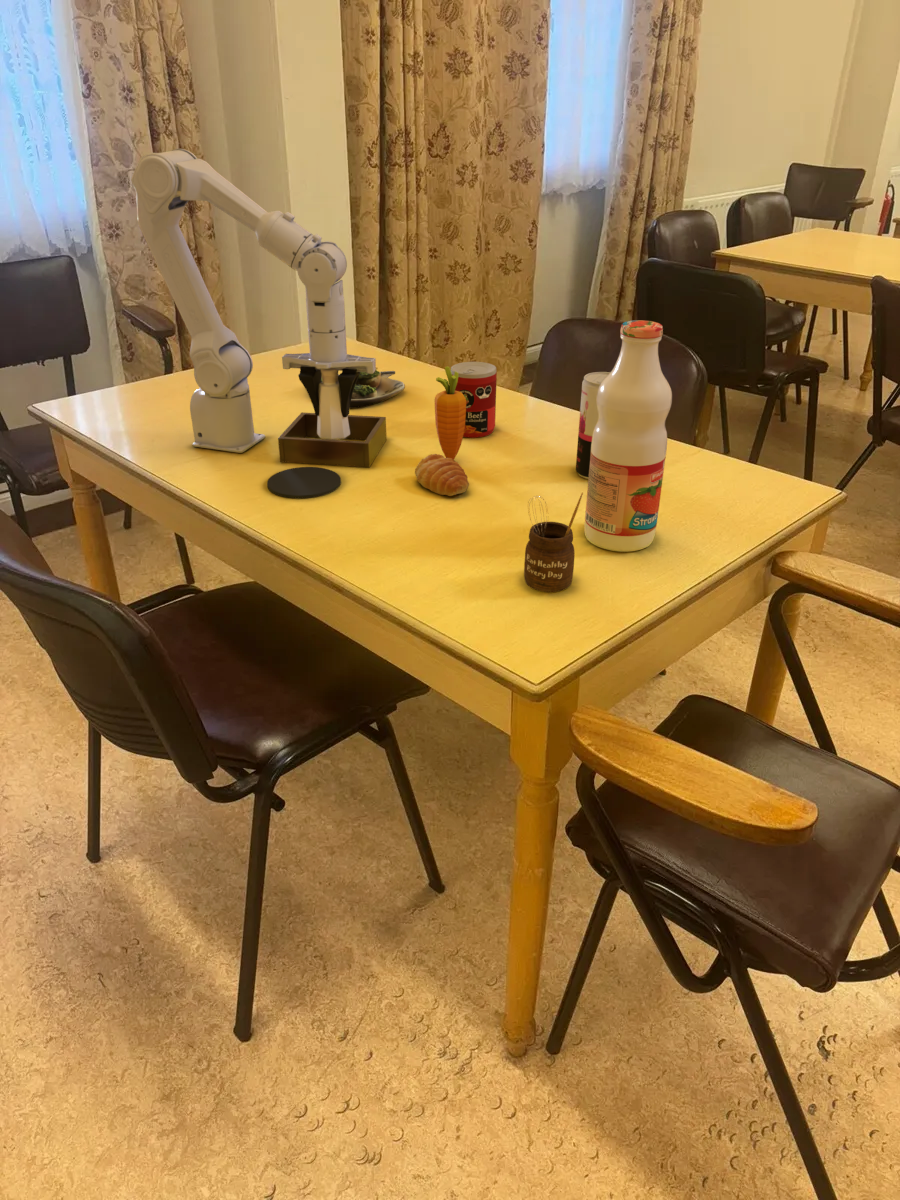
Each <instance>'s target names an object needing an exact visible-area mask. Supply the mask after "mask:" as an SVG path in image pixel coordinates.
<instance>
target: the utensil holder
mask: <svg viewBox="0 0 900 1200" xmlns="http://www.w3.org/2000/svg"><path fill="white" fill-rule="evenodd" d="M583 495H584V492H581V493H580V496H579V498H578V500H577V503H576V506H575V508H574V511H573V513H572V515H571V518H570V521H569V524H568V525H567V524H565V523H562V522H558V521H548V517H546V520H545V521H542V519H543V518H542V517H540V520H541V521H540V522H537V521H538V518H537V517H538V516H533V518H534V521H535V524H534V523H533V522H532V517H531V515H528V516H529V521H530V523H531V525H532V526H531V527H530V529H529V533H528V542H527V544H526V546H525V550H524V565H523V566H524V567H523V577H524V581H525V584H526V585H527V586H528V587H530V588H531V589H532V590H535V591H538V592H542V593H559V592H562V591H564V590H566V589H568V588H569V587H570V586H571V584H572V581H573V579H574V578H573V577H574V569H575V568H574V567H575V555H576V554H575V546H574V544H573V541H574V534H573V529H572V527H573V526H572V525H573V522H574V520H575V518H576V516H577V513H578V510H579V506H580V504H581V501H582V498H583ZM540 498H541V499H542V500H543V501H544V505H545V507H548V504H547V501H546V500H545V498H544V497H543V496H542V495H534V496H532V497H531V499H529V500H528V501H527V504H528V507H530V505H531V507H532V509H534V506H533V504H531V503H530V502H533V500H536V499H538V500H539V501H538V505H539V506H541V508H539V510H540V511H539V513H542V514H543V516H545V513H544V512H542V510H544V509H543V504H542V502H541V500H540ZM541 509H542V510H541ZM545 510H546V513H548V512H549V510H548V508H545ZM534 511H535V513H534ZM534 511H532V513H533V515H535V514H537V511H536V509H534ZM527 512H528V514H531V510H530V508H527Z"/></svg>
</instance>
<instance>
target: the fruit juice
mask: <svg viewBox="0 0 900 1200" xmlns="http://www.w3.org/2000/svg"><path fill="white" fill-rule="evenodd" d="M663 330H664V328H663V324H661V323H659V322H656V321H652V320H639V319H638V320H628V321H624V322H623V323H621V325H620V332H619V333H620V339H621V347H620V352H619V354H618V357H617V360H616V362H615V364H614V366H613V368H612V369H611V371H609V372H610V373H609V374H608V375H607V376H606V378H605V379H604V380H603V381H602V383H601V384H600V386H599V389H598V393H597V408H598V413H599V420H598V422H597V424H596V426H595V428H594V432H593V437H592V444H591V456H590V468H589V479H587V489H586V490H587V492H586V502H585V515H584V525H583V527H584V535H585V538H586V540H587V541H588V542H589V543H591V544H592V545H594V546H596V547H598V548H601V549H604V550H608V551H613V552H622V553H623V552H624V553H625V552H627V553H628V552H635V551H640V550H643V549H645V548H648V547H649V546H650V545H651V544H652V543H653V542H654V539H655V536H656V533H657V524H658V517H659V511H660V503H661V494H662V487H663V480H664V470H665V465H666V458H667V453H668V452H667V450H668V431H667V428H666V420H667V417H668V416H669V413H670V410H671V408H672V404H673V391H672V388H671V386H670V384H669V381H668V380H667V378H666V377H665V375H664V374H663V371H662V368H661V363H660V358H659V343H660V342H661V341H662V337H663V336H664V335H663V334H664V331H663Z"/></svg>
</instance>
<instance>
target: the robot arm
mask: <svg viewBox="0 0 900 1200" xmlns="http://www.w3.org/2000/svg"><path fill="white" fill-rule="evenodd" d="M130 181H131V184H132V186H133V189H134V190H135V193H136V195H135V197H136V218H137V224H138V227H139V229H140V231H141V233H142V235H143V239H144V240H145V242H146V244H147V246H148V248H149V251H150V253H151V255H152V257H153V259H154V262H155V263H156V266H157V268H158V270H159V272H160V274H161V276H162V279H163V280H164V282H165V283H164V284H166V287H167V289H168V291H169V293H170V295H171V298H172V299H173V302H174V303H175V306H176V308H177V311H178V312H179V314H180V317H181V319H182V321H183V323H184V325H185V328H186V329H187V331H188V334H189V336H190V338H191V341H190V347H189V358H190V360H191V362H192V365H193V375H194V380H195V382H196V385H197V386H198V387H199V388H196V390H194V392H193V393H192V395H191V398H190V401H189V402H190V403H189V411H190V418H191V423H192V424H191V425H192V432H193V438H194V442H192V447H196V448H201V449H209V450H217V451H224V452H231V453H239V454H242V453H245V452H246V451H247V450H249V449H250V448H252V447H253V446H255V445H256V444H258V443H259V442H261V441H262V440H263V439H265V438H266V435H265V434H263V433H256V432H255V427H254V417H253V408H252V400H251V399H252V398H251V392H250V384H249V381H248V377H249V376H251V374H252V371H253V368H254V367H253V366H254V362H253V358H252V355H251V354H250V352H249V350H248V349H247V348H246V347H245V346H243V344H241V342H240V341H239V340H238V337H237V335H236V332H234V331H233V330H232V329H230V328H228V327H227V326H226V325H224V322H223V320H222V318H221V316H220V314H219V312H218V309H217V307H216V305H215V303H214V300H213V298H212V296H211V294H210V292H209V290H208V287H207V285H206V283H205V281H204V278H203V277H202V274H201V272H200V269H199V267H198V266H197V265H198V264H197V263H196V261H195V258H194V256H193V254H192V252H191V249H190V247H189V245H188V243H187V241H186V239H185V237H184V233H183V232H182V230H181V227H180V221H181V219H182V217H183V214H184V211H185V209H186V205H187V204H188V203H189V202H190V201H195V202H196V201H200V202H201V201H202V202H208V203H210V204H211V205H213V206H214V207H215V208H217V209H219V210H220V211H221V212H222V211H223V213H225V214H227V215H228V216H229V217H231V218H233V219H234V220H236V221H237V222H238V223H240V224H242V225H244V226H245V227H247V228H248V229H250V230H252V231H253V232H254V233H255V236H256V240H257V244H258V245H259V247H261V248H263V249H264V250H265V251H267V252H269V254H271V255H272V256H274V257H275V258H277V259H278V260H280V262H282V263H284V264H285V265H287V266H288V267H289V268H290V269H292V270H293V271H297V276H298V278H299V279H300V281H301V283H302V284H303V285H304V287H305V288H304V289H305V305H306V307H305V308H306V320H307V331H308V332H307V333H308V335H307V336H308V346H309V347H308V348H309V352H305V353H304V352H303V353H285V354H283V355H282V356H281V361H282V362H281V364H282V369H283V370H290V369H299V374H298V375H297V376H298V380H299V381H300V383H301V385H302V386H303V388H304V389H305V390H306V391H305V392H307V394H308V397H309V400H310V402H311V405H312V408H313V410H314V413H315V415H316V416H319V398H318V390H319V384H320V383H321V380H322V375H321V374H322V373H321V369H329V368H334V369H337V370H338V372H339V371H341V373H339V376H338V382H339V387H340V393H341V413H342V416H343V417H347V416H348V415H350V410H351V408H350V403H351V398H352V394H353V390H354V387H355V385H356V382H357V379H358V377H359V375H360V372H367V373H370V374H373V373H374V372H375V370H376V368H377V364H376V363H377V360H376V357H367V356H360V355H355V354H350V353H349V354H348V350H347V329H346V310H345V309H346V307H345V296H344V281H343V279H342V278H343V277H344V276H345V274H346V272H347V268H348V261H347V257H346V255H345V253H344V251H343V250H342V248H340V247H339V246H338V245H337V243H335V242H334V241H329V240H324V241H322V239H323V237H322V236H321V235H320V234H318V233H315V234H313V233H311V232H310V231H309V230H307V229H306V228H305V227H303V226H302V225H300V224H299V223H298V222H296V221H295V218H296V216H295V215H294V214H292V213H291V212H290V211H286V212H283V211H281V210H274V211H273V210H272V211H267V210H266V209H264V208H263V207H262V206H260V205H259V204H258V203H256V201H254V200H253V199H252V198H251V197H249V196H248V195H247V194H245V193H244V192H243V191H242V190H241V189H239V188H238V187H236V186H235V185H234V184H233V183H231V181H229V179H227V178H225V177H224V176H223V175H222V174H220V173H219V172H218V171H217V170H216V169H214V168H213V166H211V164H210V163H209V162H207V161H206V160H204V159H202V158H198V157H197V156H196V155H195V154H194V153H193V152H192V151H190V150H188V149H185V148H174V149H172V150H170V151H162V152H148V153H146V154H144V155H142V156H141V158H140V159H139V160H138V162H137V164H136V166H135V169H134V170H133V174H132V176H131V179H130Z"/></svg>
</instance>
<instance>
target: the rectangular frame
mask: <svg viewBox="0 0 900 1200" xmlns="http://www.w3.org/2000/svg"><path fill="white" fill-rule="evenodd" d="M317 419H318V416H316V415H315V412H300V413H299V415H297V416H296V418H295V419H294V420H293V421H292V422H291V423H290V424H289V426H287V428H286V429H285V430H284V431H283V432H282V433H281V434H280V435H279V436H278V437H277V444H278V453H279V462H280V463H289V464H290V463H292V464H306V465H307V464H308V465H323V466H340V467H356V468H368V469H370V468H371V466H372V464H373V463H374V461H375V460H376V458H377V456H378V455H379V453H380V451H381V450H382V448H383V447H384V444H385V443H386V441H387V440H388V439H387V417H386V416H373V415H359V414H349V415H348V423H349V429H350V435H349V436H347V437H346V438H344V439H339V440H327V439H321V438H320V437H319V436H318V434H317Z"/></svg>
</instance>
